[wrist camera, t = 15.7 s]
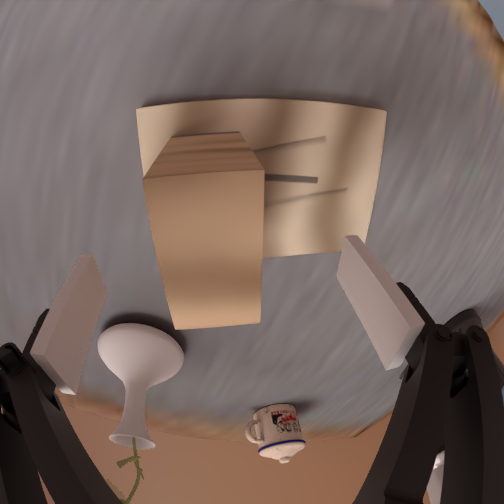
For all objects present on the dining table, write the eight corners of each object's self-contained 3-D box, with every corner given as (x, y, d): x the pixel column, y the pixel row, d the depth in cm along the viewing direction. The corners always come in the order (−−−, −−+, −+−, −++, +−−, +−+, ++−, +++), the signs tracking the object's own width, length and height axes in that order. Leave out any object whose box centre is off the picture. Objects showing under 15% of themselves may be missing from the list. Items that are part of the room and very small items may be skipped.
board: (377, 108, 21) (386, 111, 19) (357, 241, 28) (363, 248, 27) (140, 107, 18) (136, 109, 17) (162, 256, 26) (160, 266, 25)
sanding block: (171, 136, 19) (142, 179, 10) (239, 131, 19) (264, 169, 11) (183, 240, 24) (175, 329, 16) (240, 235, 24) (260, 322, 16)
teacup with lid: (304, 403, 50) (319, 453, 40) (278, 421, 54) (288, 466, 44) (255, 399, 45) (266, 456, 36) (231, 417, 49) (238, 468, 39)
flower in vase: (99, 304, 28) (61, 525, 8) (192, 324, 32) (208, 545, 11) (102, 363, 35) (86, 523, 14) (175, 378, 38) (182, 537, 18)
